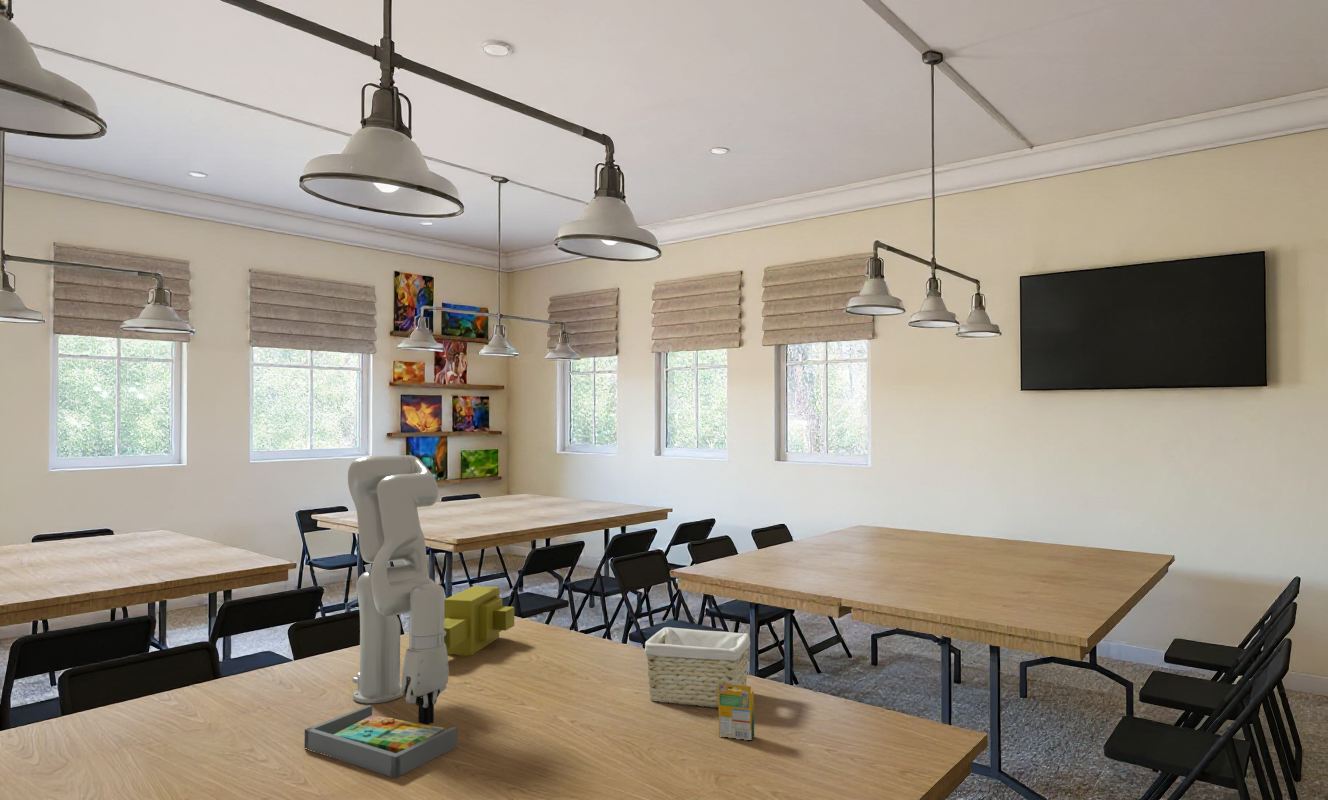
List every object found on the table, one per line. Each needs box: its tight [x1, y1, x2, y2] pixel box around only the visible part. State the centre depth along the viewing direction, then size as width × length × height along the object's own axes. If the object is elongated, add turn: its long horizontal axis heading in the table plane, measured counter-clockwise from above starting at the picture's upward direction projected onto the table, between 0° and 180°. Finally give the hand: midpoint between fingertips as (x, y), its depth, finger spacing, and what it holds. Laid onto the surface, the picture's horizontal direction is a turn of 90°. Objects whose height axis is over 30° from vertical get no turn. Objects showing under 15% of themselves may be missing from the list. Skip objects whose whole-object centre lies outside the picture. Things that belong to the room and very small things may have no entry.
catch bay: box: [303, 704, 458, 779], centre depth 160 cm, size 27×16×4 cm, turn 60°
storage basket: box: [644, 626, 751, 708], centre depth 190 cm, size 24×16×15 cm
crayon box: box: [718, 683, 755, 741], centre depth 165 cm, size 7×3×12 cm, turn 71°
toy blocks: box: [444, 585, 515, 656], centre depth 229 cm, size 35×16×16 cm
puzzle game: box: [333, 714, 446, 753], centre depth 160 cm, size 12×5×20 cm
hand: (426, 722), depth 171 cm, fingers closed
